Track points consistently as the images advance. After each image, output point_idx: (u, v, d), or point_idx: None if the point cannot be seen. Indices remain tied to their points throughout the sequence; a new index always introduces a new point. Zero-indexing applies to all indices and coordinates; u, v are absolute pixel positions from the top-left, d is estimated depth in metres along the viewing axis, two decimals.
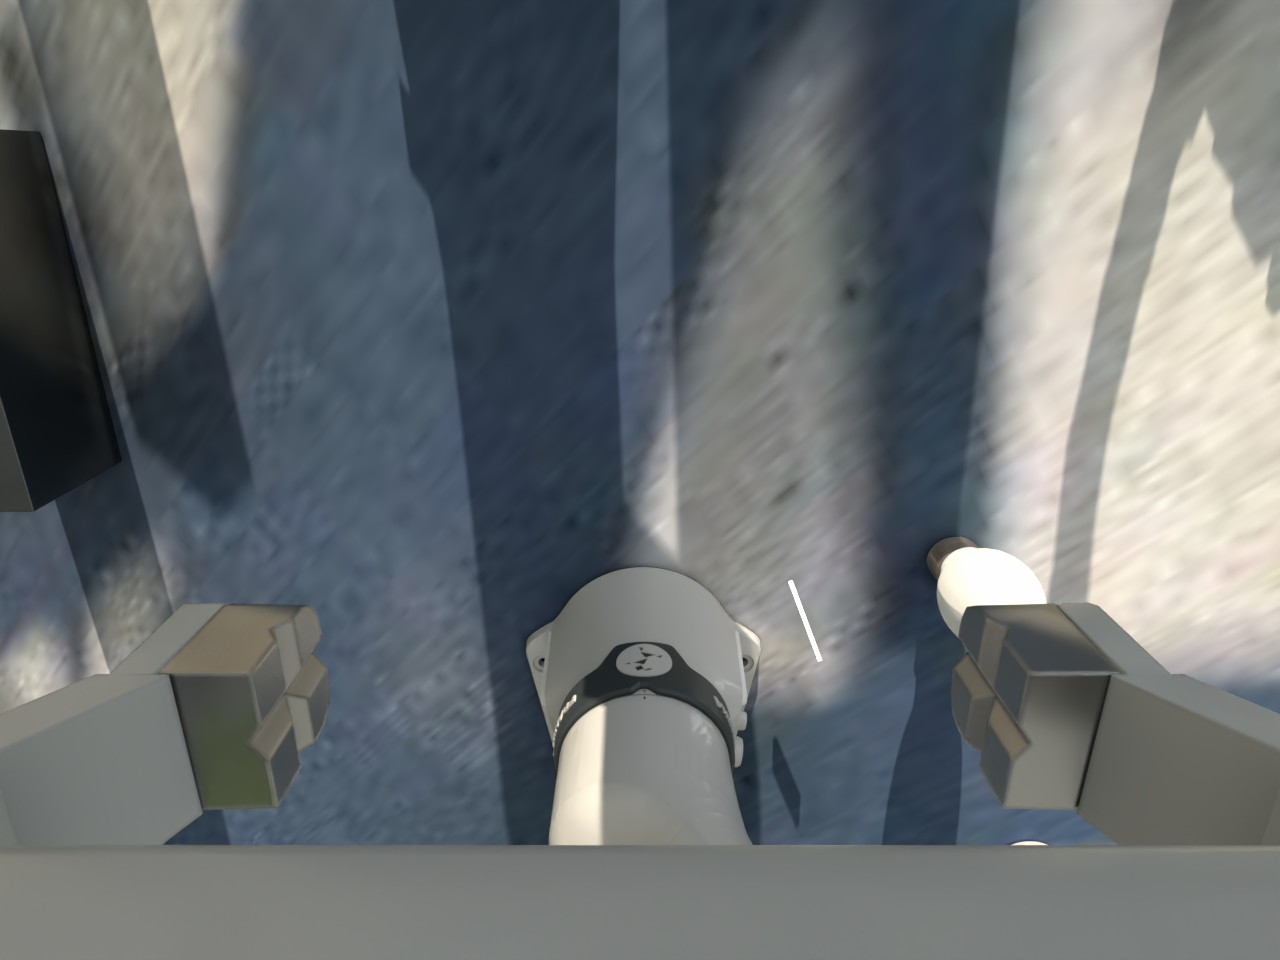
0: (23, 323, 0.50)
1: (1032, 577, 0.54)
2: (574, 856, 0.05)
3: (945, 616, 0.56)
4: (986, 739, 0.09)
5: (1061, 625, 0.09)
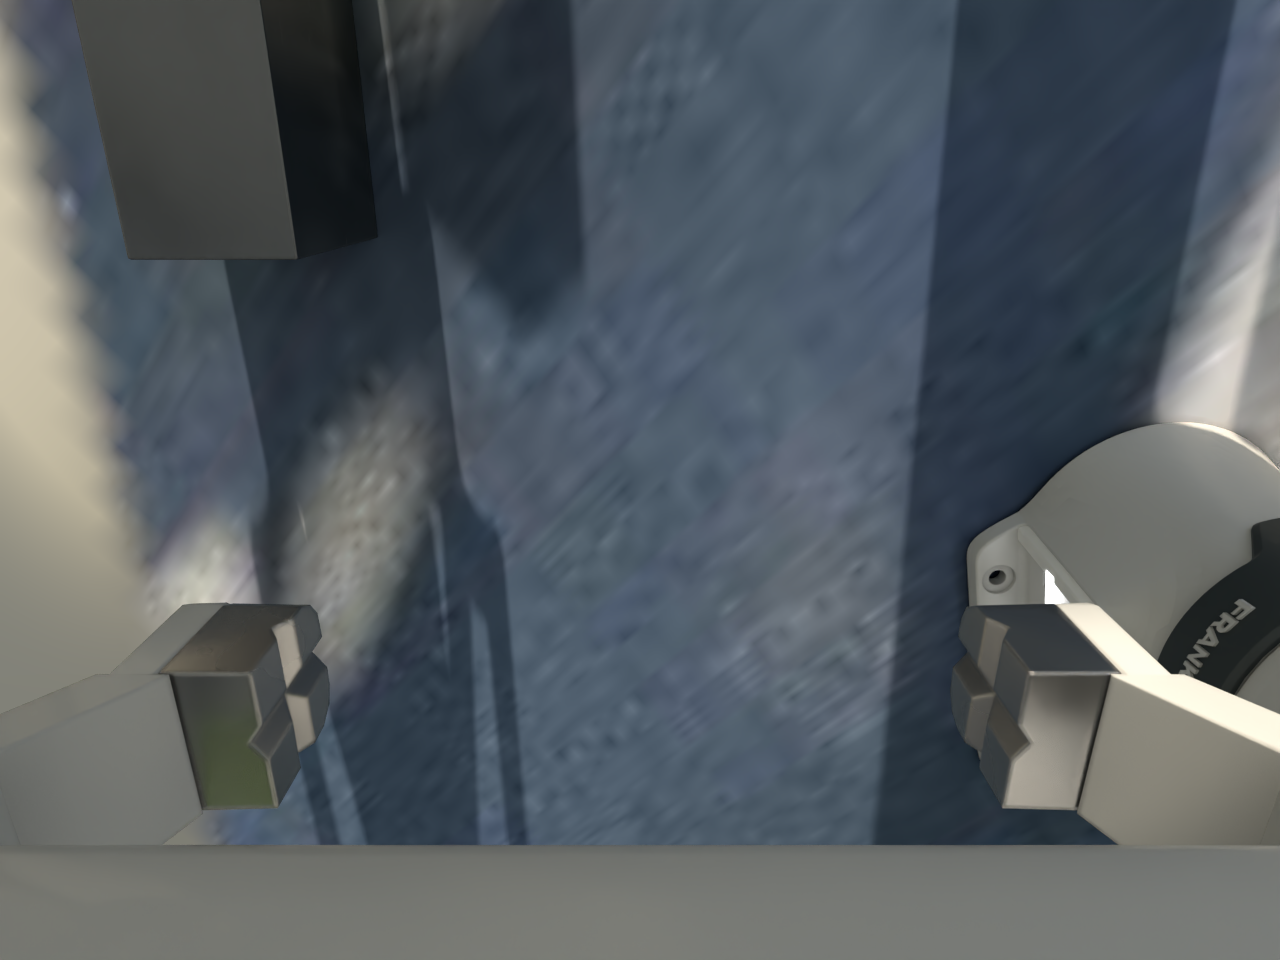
0: None
1: None
2: (574, 856, 0.05)
3: None
4: (986, 739, 0.09)
5: (1061, 625, 0.09)
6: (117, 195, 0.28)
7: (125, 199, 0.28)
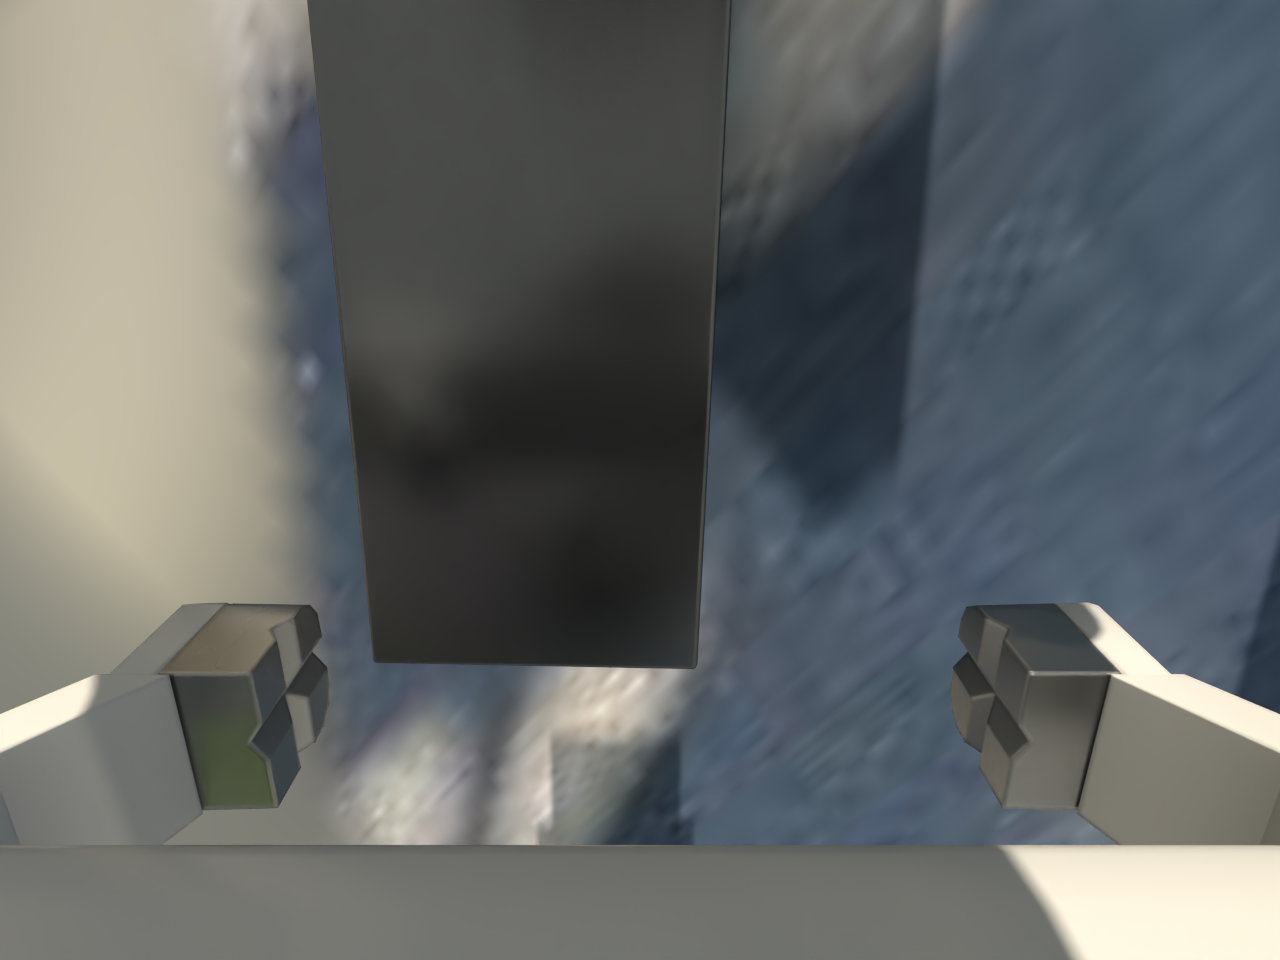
0: None
1: None
2: (574, 856, 0.05)
3: None
4: (986, 739, 0.09)
5: (1061, 625, 0.09)
6: (369, 558, 0.14)
7: (384, 565, 0.14)
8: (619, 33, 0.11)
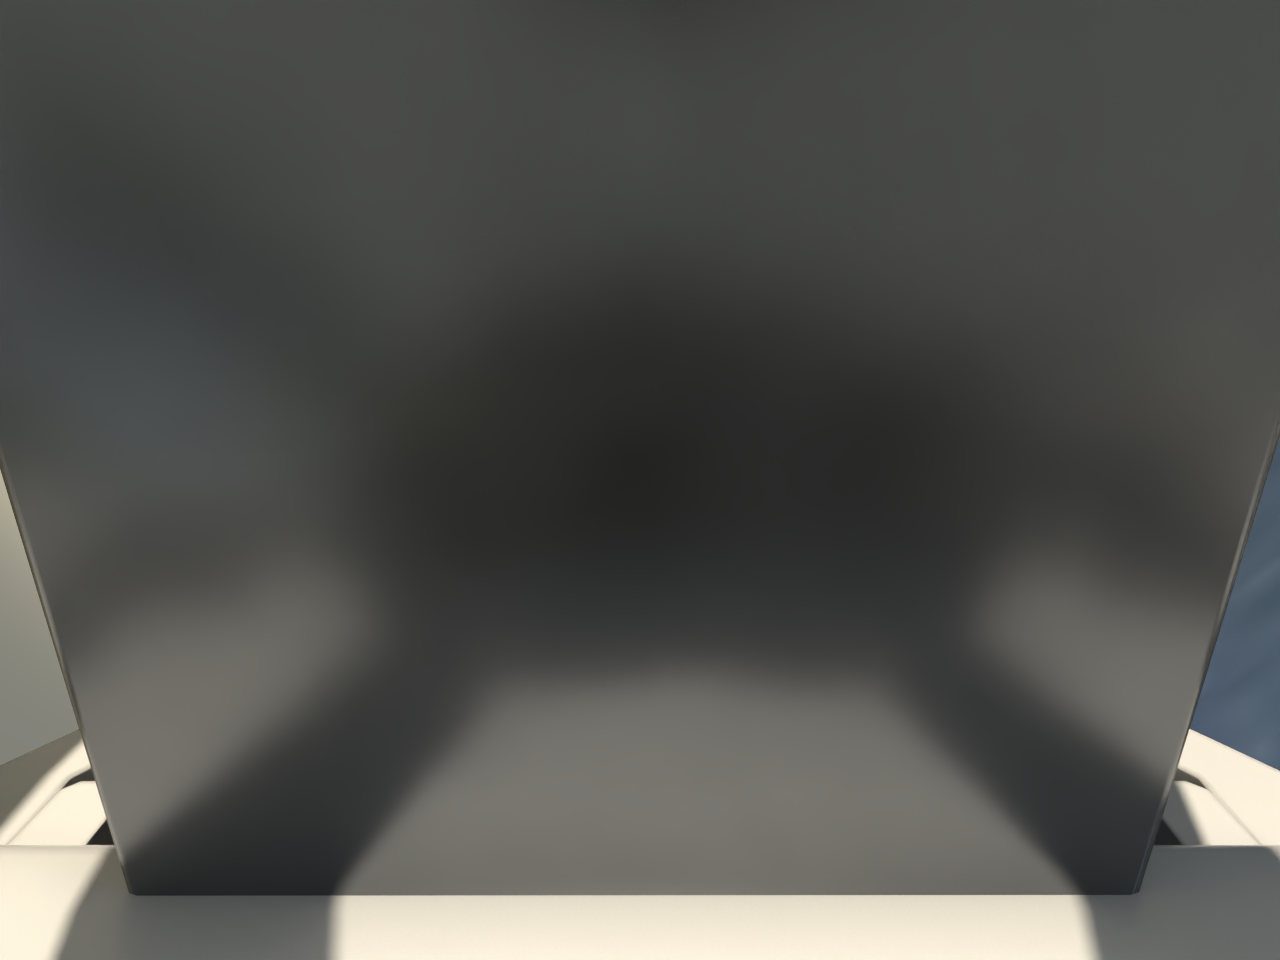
0: None
1: None
2: None
3: None
4: None
5: None
6: None
7: None
8: (994, 91, 0.03)
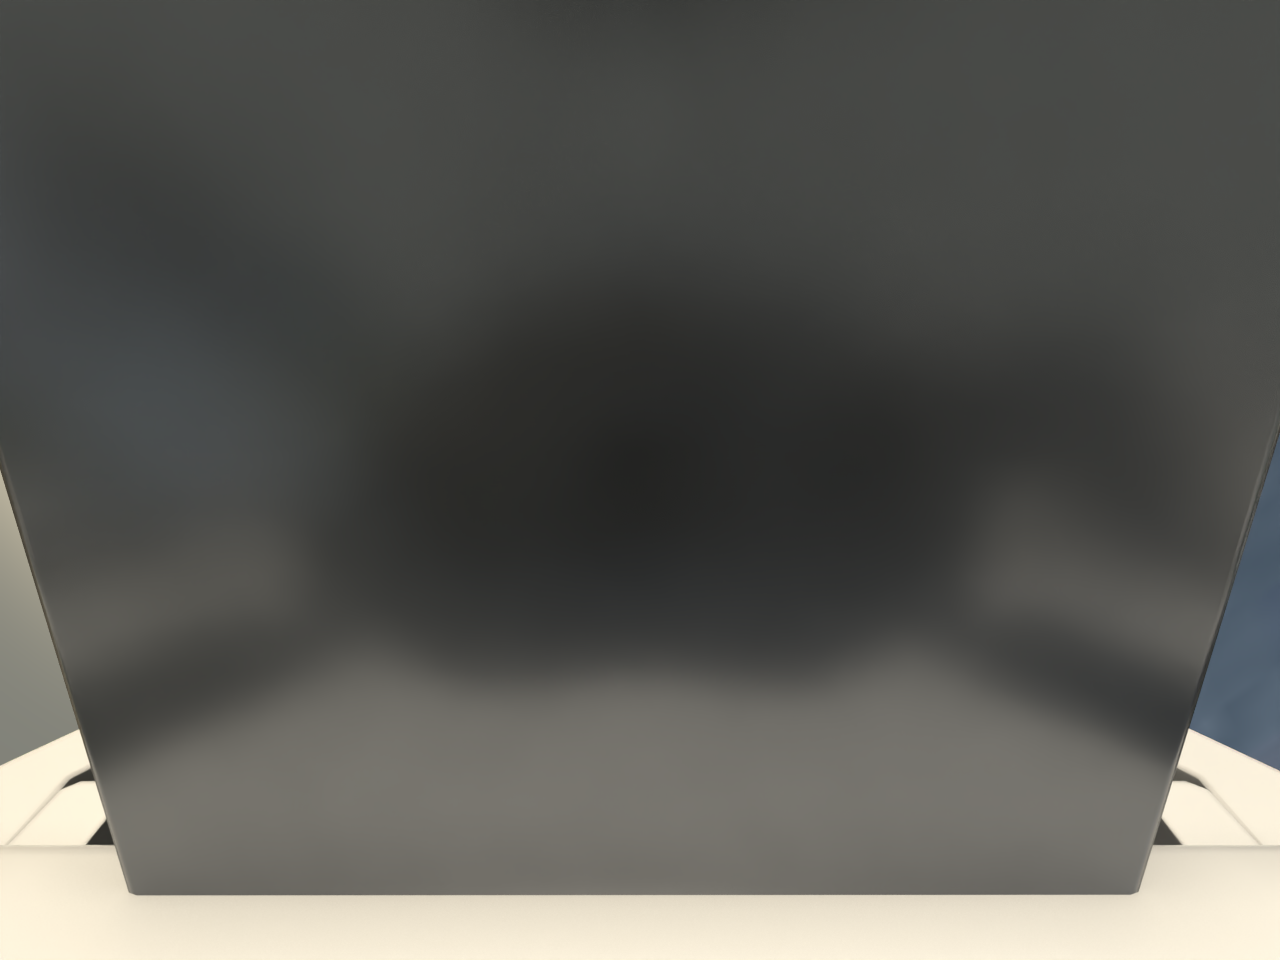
0: None
1: None
2: None
3: None
4: None
5: None
6: None
7: None
8: (992, 94, 0.03)
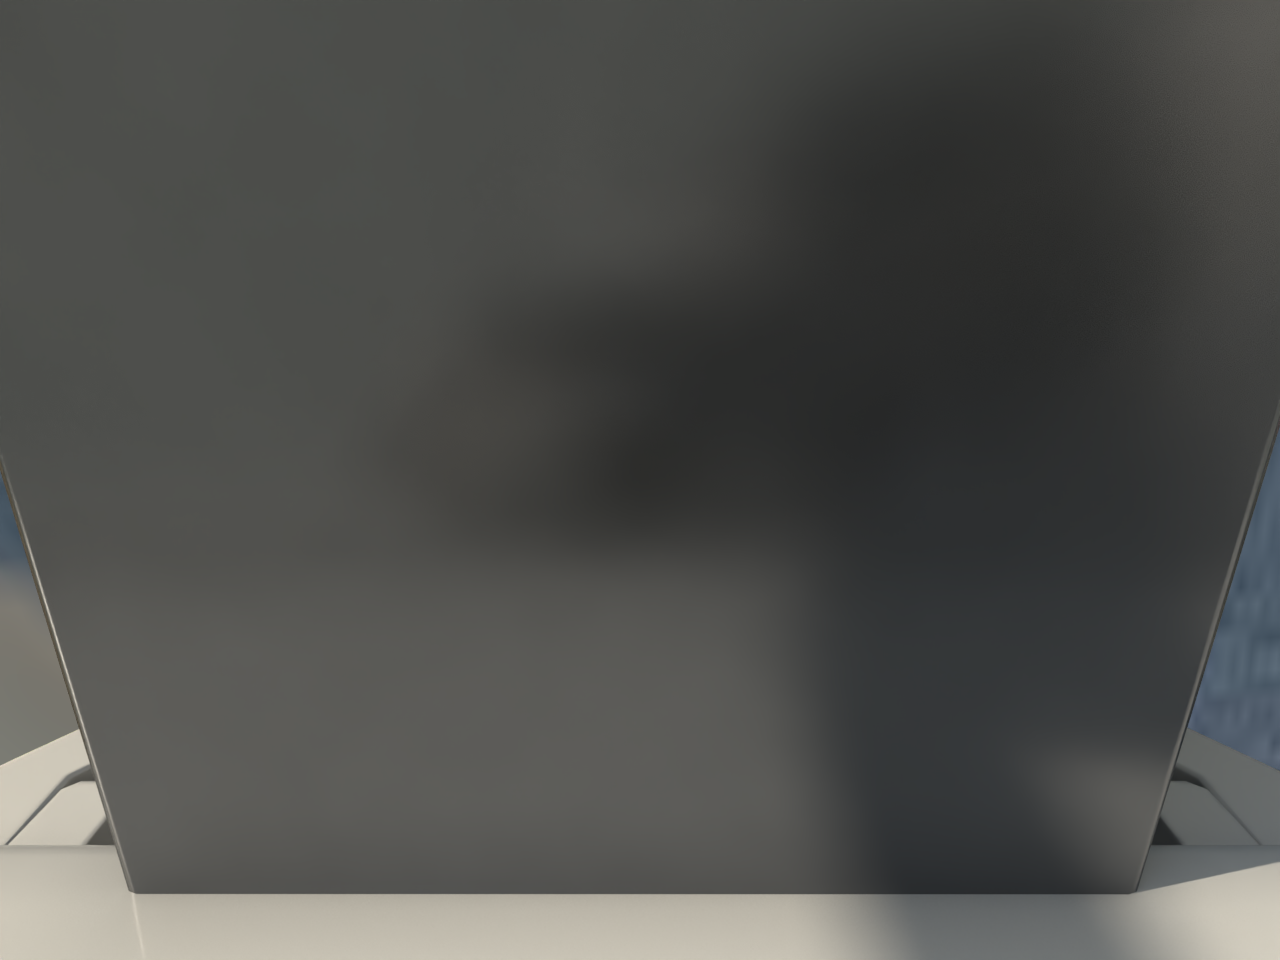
0: None
1: None
2: None
3: None
4: None
5: None
6: None
7: None
8: (992, 91, 0.03)
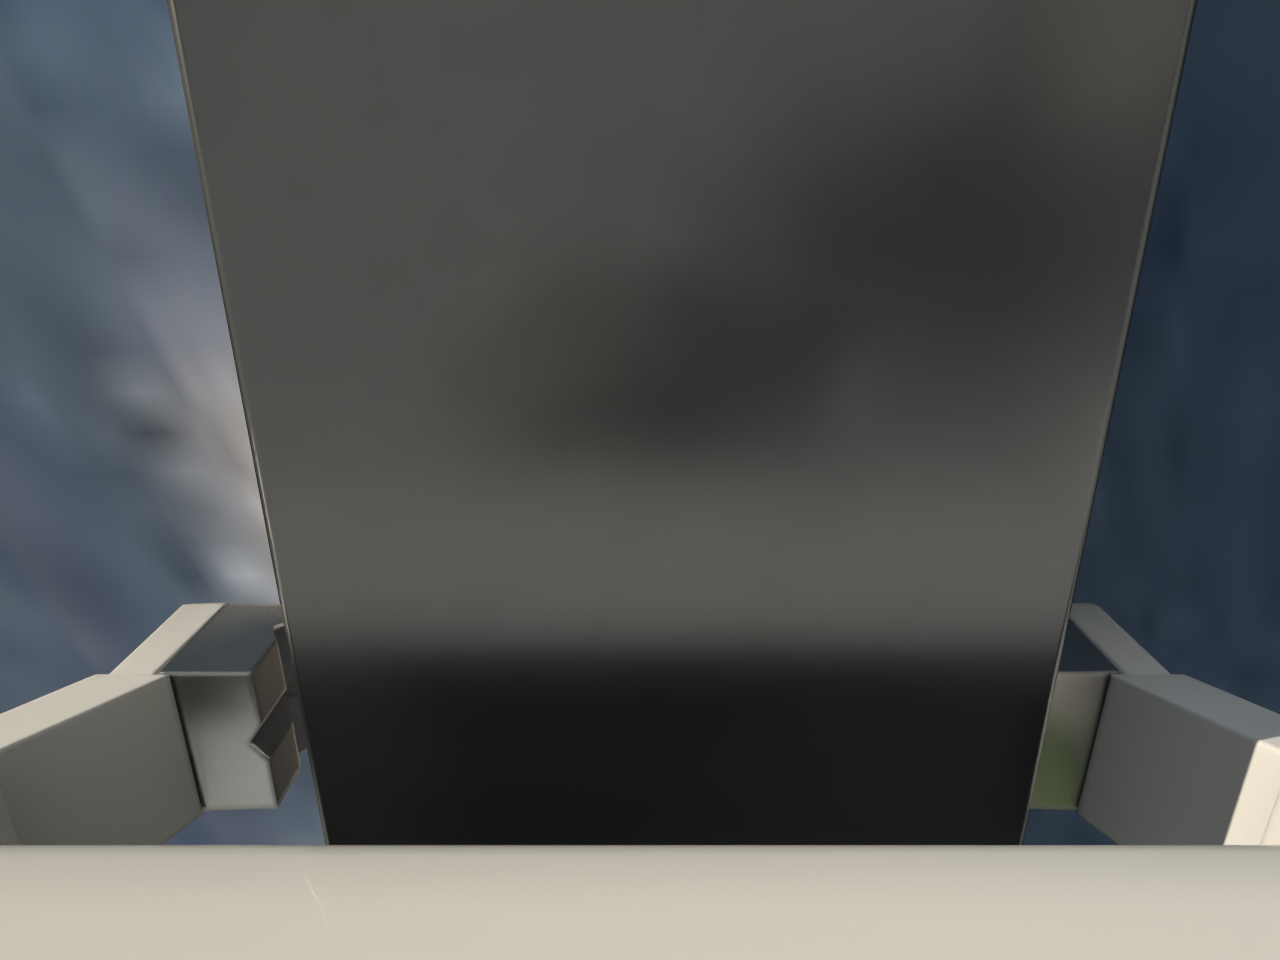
0: None
1: None
2: (574, 856, 0.05)
3: None
4: None
5: None
6: None
7: None
8: (906, 201, 0.05)
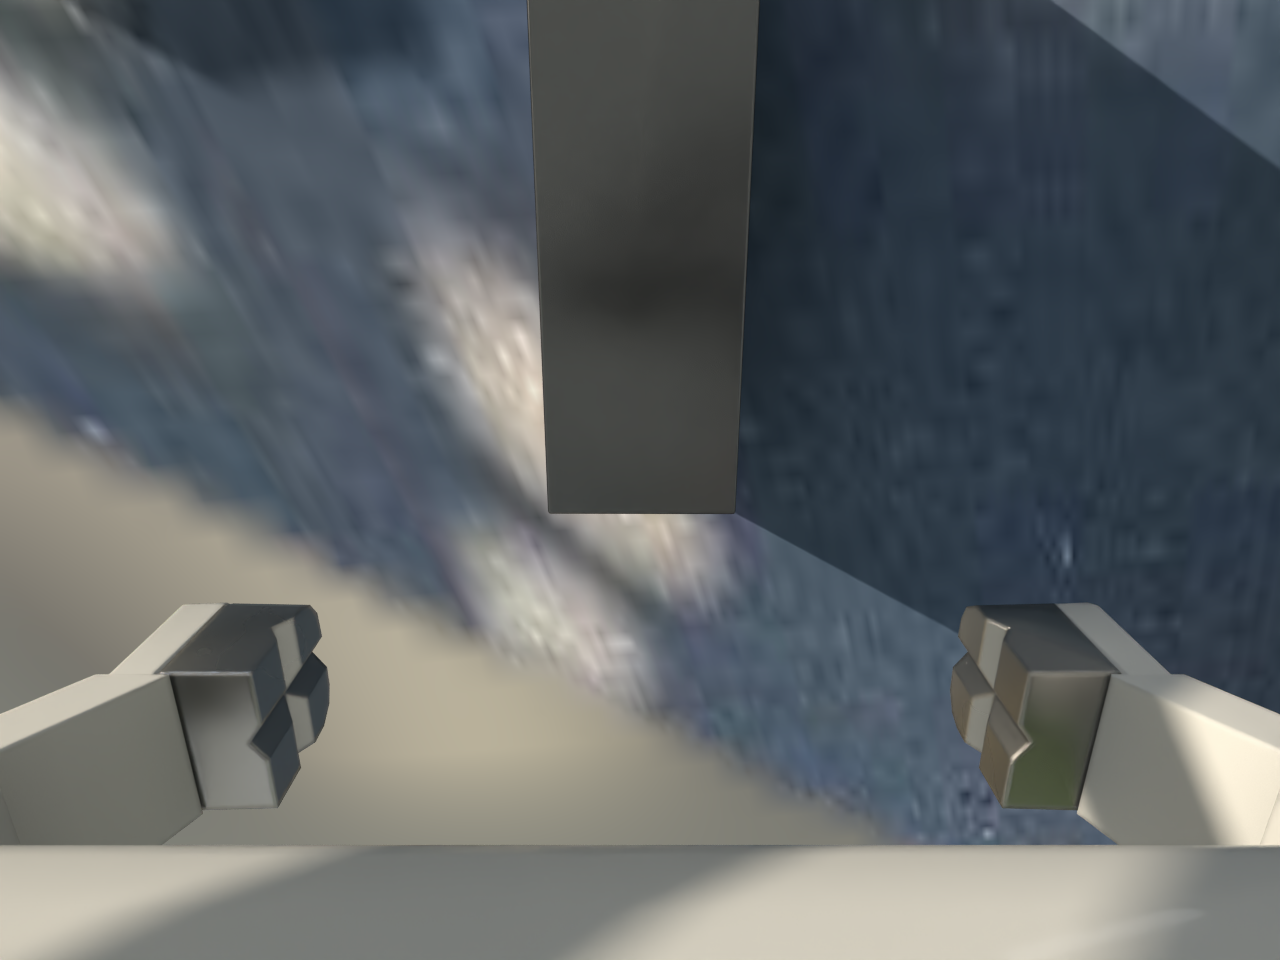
0: None
1: None
2: (574, 856, 0.05)
3: None
4: (986, 739, 0.09)
5: (1061, 625, 0.09)
6: (549, 451, 0.25)
7: (557, 455, 0.25)
8: (694, 165, 0.22)
